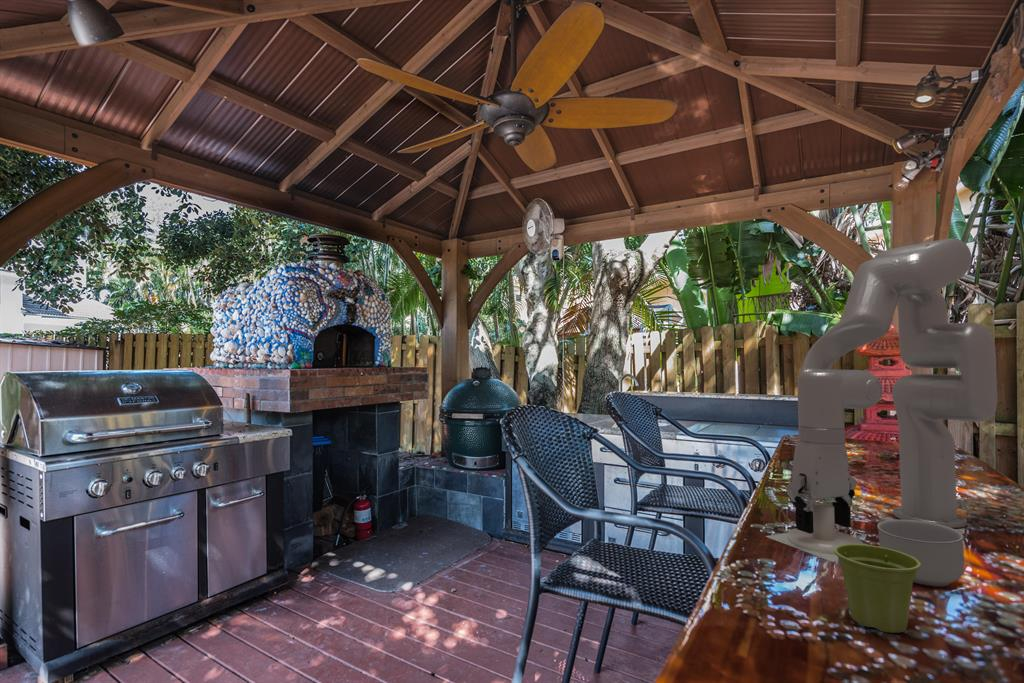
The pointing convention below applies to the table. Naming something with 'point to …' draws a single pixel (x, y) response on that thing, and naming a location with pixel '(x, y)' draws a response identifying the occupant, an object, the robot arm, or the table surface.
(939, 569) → the teacup
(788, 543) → the mat
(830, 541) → the lid
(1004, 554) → the table surface
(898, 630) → the plant pot
